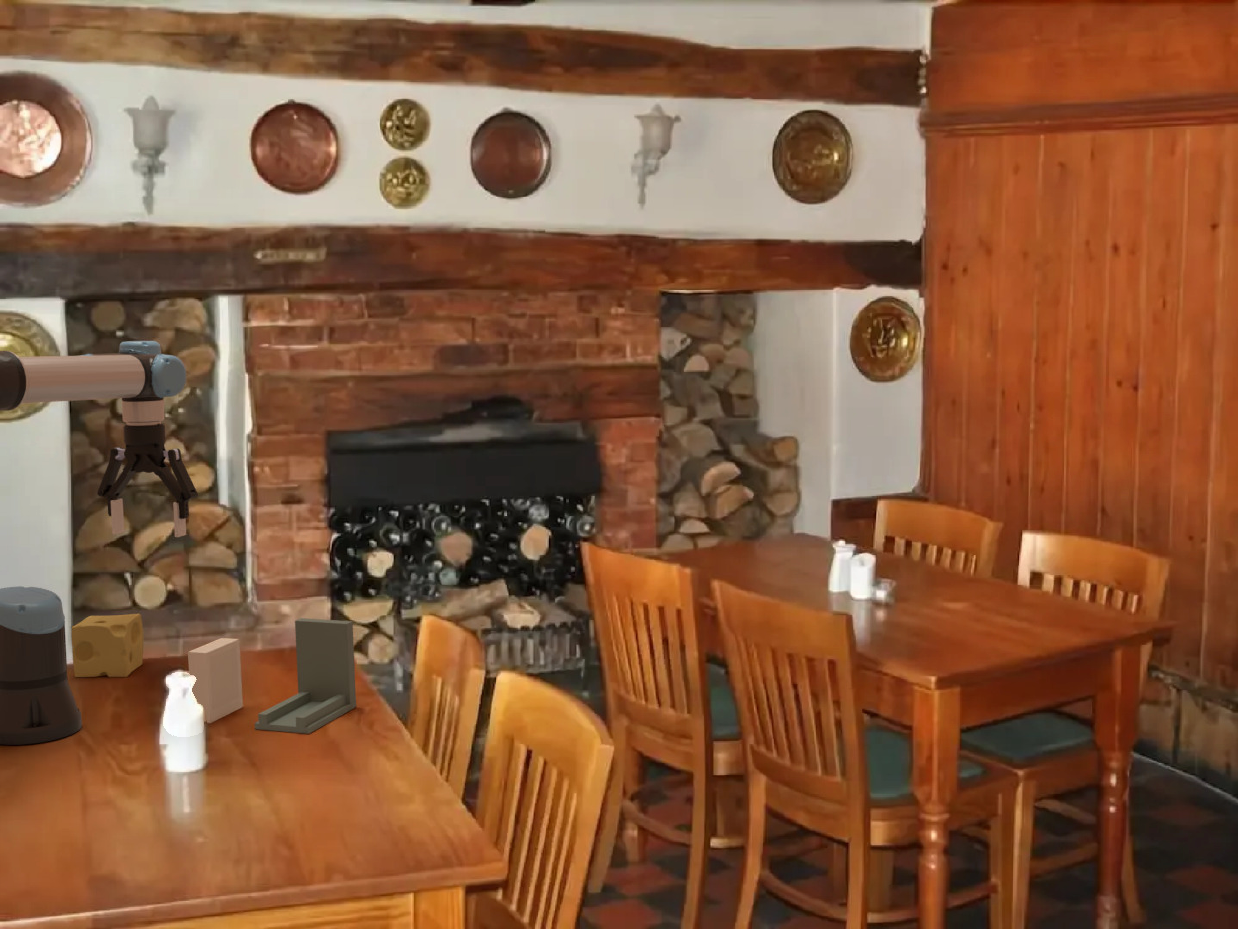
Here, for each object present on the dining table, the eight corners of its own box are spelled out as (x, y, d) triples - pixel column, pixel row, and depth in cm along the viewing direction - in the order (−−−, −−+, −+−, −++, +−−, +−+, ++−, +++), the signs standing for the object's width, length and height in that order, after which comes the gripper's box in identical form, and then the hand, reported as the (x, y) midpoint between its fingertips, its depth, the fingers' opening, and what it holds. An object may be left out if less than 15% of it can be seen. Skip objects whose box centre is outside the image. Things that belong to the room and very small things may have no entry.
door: (210, 723, 257) (206, 653, 256) (191, 721, 258) (187, 651, 257) (243, 707, 267) (239, 639, 265) (225, 705, 268) (221, 638, 266)
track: (308, 733, 250) (304, 643, 248) (254, 729, 253) (250, 639, 251) (356, 707, 265) (352, 621, 263) (304, 702, 268) (300, 618, 266)
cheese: (127, 677, 288) (124, 625, 287) (70, 678, 288) (67, 626, 287) (145, 663, 298) (142, 612, 297) (90, 664, 298) (87, 613, 297)
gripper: (213, 422, 291) (217, 533, 293) (99, 420, 298) (104, 529, 300) (191, 425, 283) (195, 540, 286) (74, 423, 291) (80, 535, 293)
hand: (149, 534), depth 293 cm, fingers open, 13 cm apart
